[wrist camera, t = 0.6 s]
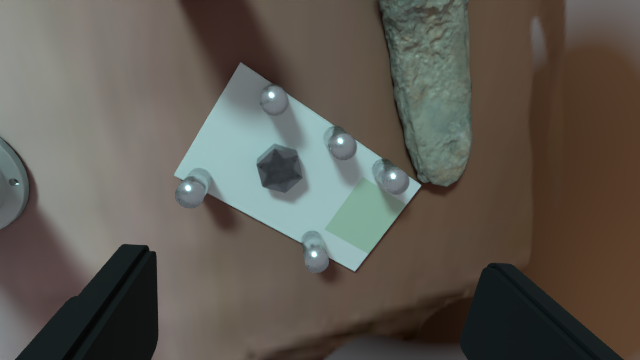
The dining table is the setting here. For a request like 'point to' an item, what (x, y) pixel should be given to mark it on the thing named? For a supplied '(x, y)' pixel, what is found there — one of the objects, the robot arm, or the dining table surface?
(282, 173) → the grey faceted hexagonal block
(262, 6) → the dining table surface
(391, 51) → the elongated rock
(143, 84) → the dining table surface
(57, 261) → the dining table surface
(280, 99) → the spacers
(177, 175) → the board
